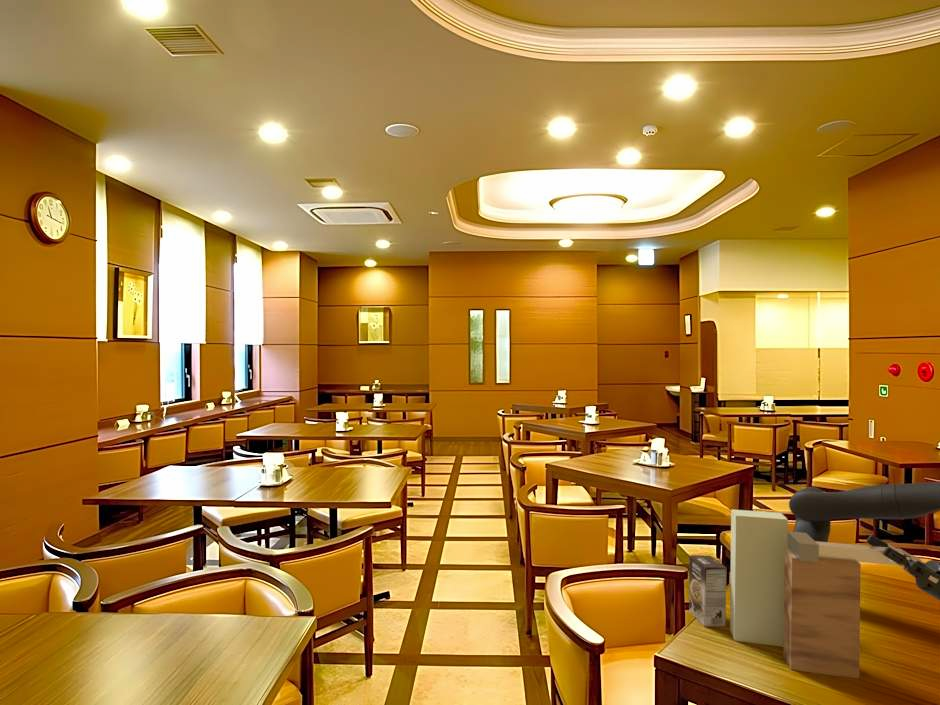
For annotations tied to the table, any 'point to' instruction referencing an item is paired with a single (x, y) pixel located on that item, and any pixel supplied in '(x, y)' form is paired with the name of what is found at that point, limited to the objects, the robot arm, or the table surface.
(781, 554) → the beige tall block
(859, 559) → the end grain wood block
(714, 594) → the coffee box
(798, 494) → the robot arm
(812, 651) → the wood grain post
